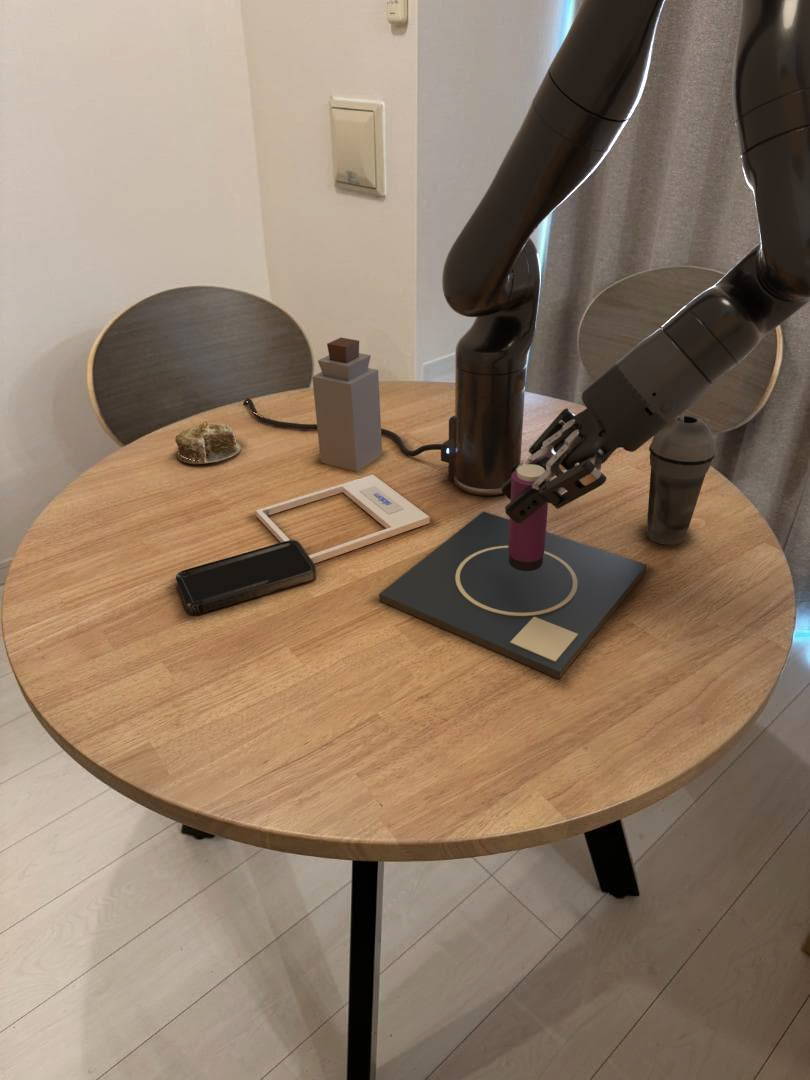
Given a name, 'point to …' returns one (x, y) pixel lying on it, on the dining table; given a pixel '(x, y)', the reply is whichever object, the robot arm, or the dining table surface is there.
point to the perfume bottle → (347, 407)
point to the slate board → (516, 593)
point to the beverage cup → (677, 477)
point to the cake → (207, 443)
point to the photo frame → (369, 497)
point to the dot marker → (527, 524)
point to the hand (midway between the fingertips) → (509, 505)
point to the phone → (244, 576)
